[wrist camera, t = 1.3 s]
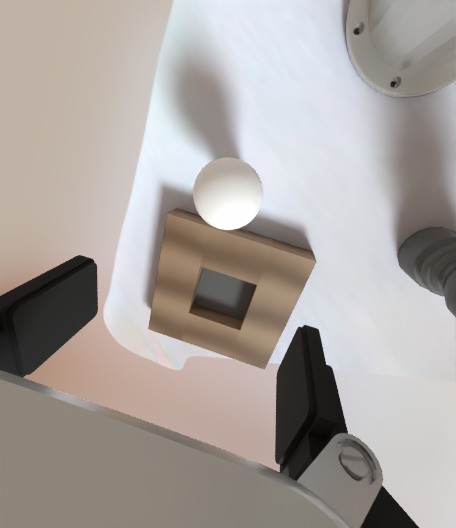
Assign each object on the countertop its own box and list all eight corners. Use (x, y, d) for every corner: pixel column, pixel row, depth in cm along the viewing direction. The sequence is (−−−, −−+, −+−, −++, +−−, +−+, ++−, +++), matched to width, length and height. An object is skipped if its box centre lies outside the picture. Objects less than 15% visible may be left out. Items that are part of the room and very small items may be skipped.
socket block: (176, 208, 31) (167, 213, 29) (312, 251, 30) (316, 261, 28) (157, 317, 39) (148, 329, 36) (265, 354, 38) (264, 369, 35)
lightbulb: (233, 145, 27) (209, 138, 17) (277, 178, 28) (278, 191, 18) (205, 191, 30) (169, 209, 20) (245, 221, 30) (230, 253, 20)
